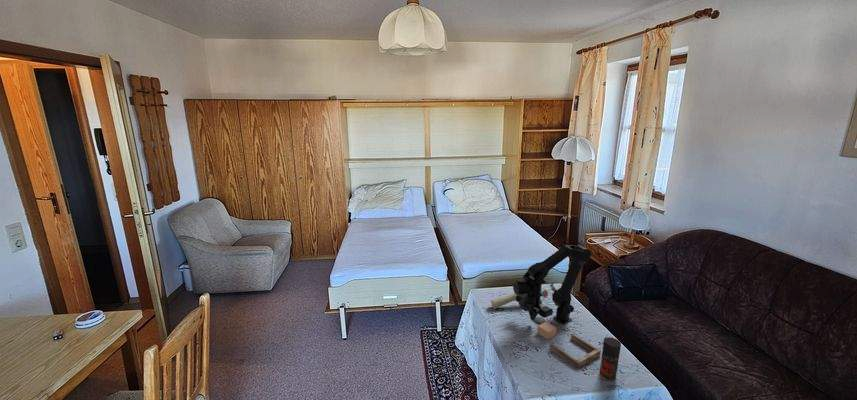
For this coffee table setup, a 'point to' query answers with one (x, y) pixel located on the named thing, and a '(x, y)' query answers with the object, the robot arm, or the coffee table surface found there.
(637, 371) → the coffee table surface
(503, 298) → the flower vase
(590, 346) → the bay
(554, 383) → the coffee table surface
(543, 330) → the terracotta block
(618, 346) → the deodorant
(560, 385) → the coffee table surface
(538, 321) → the pad
